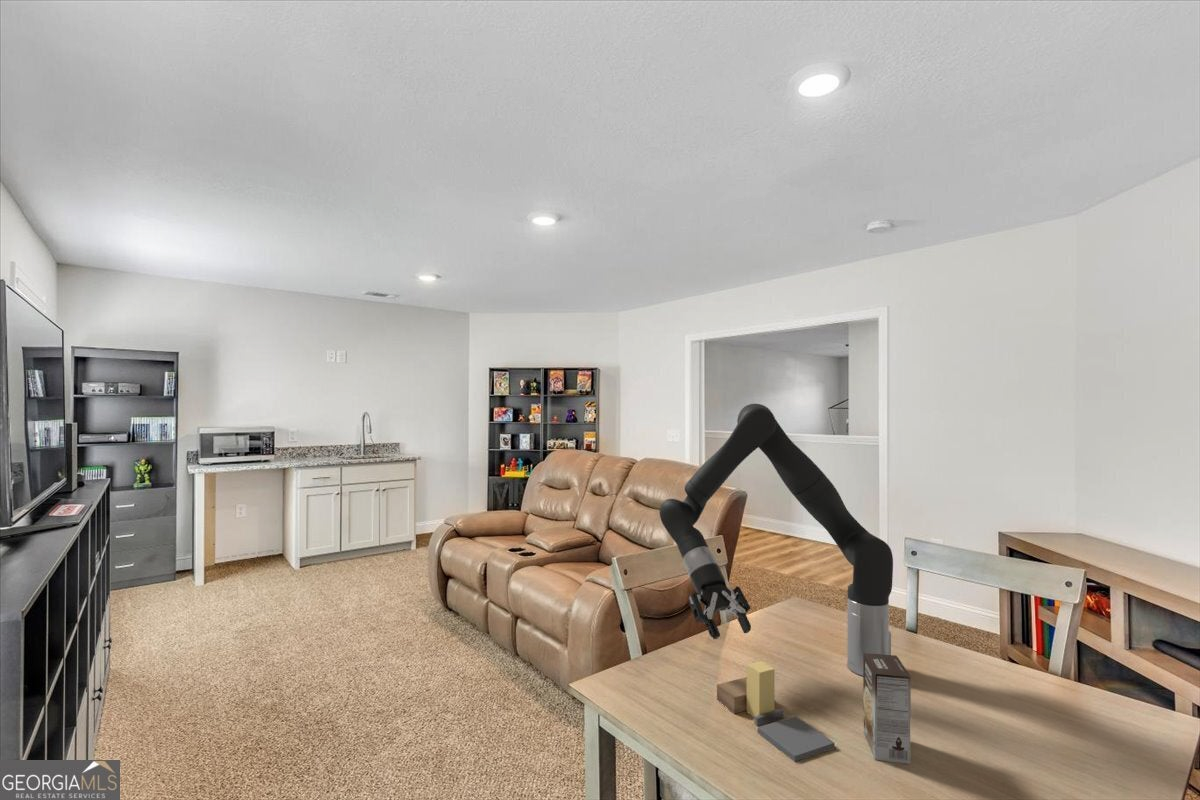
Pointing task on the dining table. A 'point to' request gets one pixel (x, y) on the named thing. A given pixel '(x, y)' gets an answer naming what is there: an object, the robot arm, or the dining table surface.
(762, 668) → the pale yellow rectangular prism
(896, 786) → the dining table surface
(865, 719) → the coffee box
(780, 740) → the mat
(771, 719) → the block
